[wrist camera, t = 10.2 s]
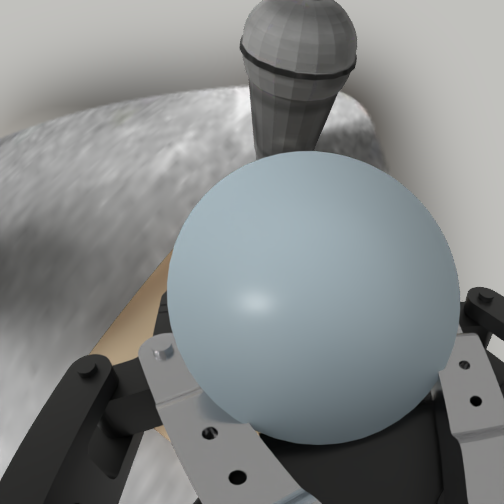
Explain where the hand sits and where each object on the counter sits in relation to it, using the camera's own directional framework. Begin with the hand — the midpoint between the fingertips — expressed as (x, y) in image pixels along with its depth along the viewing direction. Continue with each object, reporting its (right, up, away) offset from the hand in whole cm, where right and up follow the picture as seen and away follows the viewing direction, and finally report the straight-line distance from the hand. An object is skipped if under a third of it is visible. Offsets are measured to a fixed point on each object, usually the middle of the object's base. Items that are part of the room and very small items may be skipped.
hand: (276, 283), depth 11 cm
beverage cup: (+2, +9, +15) cm, 18 cm away
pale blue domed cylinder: (0, -3, +4) cm, 5 cm away
